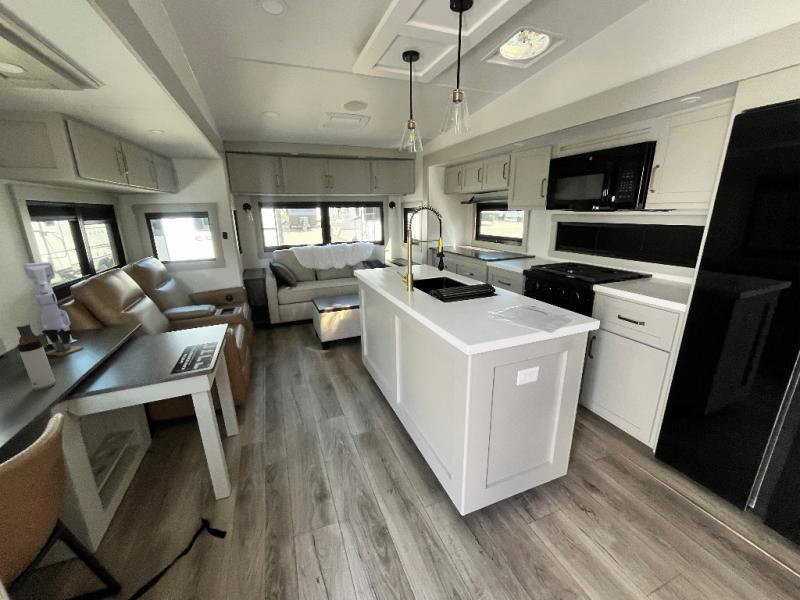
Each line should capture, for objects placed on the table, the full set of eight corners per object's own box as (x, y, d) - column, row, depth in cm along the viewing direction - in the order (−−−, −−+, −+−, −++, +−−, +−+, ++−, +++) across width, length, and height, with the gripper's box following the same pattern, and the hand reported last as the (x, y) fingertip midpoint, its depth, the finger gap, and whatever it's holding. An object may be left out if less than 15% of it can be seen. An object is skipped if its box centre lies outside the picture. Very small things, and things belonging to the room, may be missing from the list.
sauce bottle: (51, 363, 151) (37, 323, 146) (33, 369, 146) (18, 328, 140) (43, 361, 154) (29, 322, 148) (25, 367, 148) (9, 326, 142)
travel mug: (36, 392, 127) (18, 345, 122) (32, 387, 131) (14, 342, 125) (58, 384, 132) (42, 339, 127) (53, 380, 136) (37, 336, 130)
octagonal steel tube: (52, 351, 161) (49, 342, 160) (65, 347, 166) (62, 338, 165) (61, 352, 160) (58, 343, 159) (74, 347, 165) (71, 338, 164)
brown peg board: (44, 354, 160) (40, 343, 159) (65, 347, 169) (62, 336, 167) (62, 356, 158) (58, 345, 156) (83, 348, 166) (80, 338, 165)
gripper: (31, 319, 156) (40, 345, 160) (53, 321, 153) (62, 347, 157) (49, 314, 162) (57, 339, 166) (71, 316, 159) (79, 341, 163)
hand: (61, 342), depth 162 cm, fingers open, 7 cm apart
